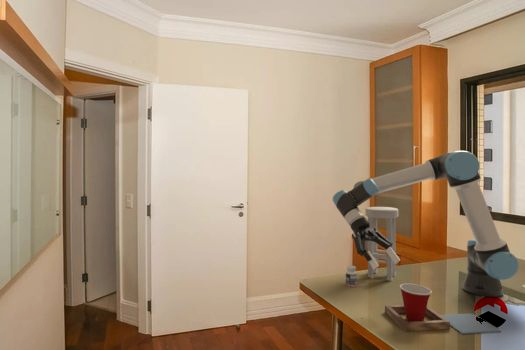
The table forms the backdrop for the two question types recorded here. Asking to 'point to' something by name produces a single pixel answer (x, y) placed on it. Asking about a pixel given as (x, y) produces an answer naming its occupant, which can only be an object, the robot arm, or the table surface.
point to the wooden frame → (418, 325)
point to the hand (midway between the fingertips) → (387, 264)
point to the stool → (391, 235)
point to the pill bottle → (351, 276)
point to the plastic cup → (415, 301)
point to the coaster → (469, 324)
